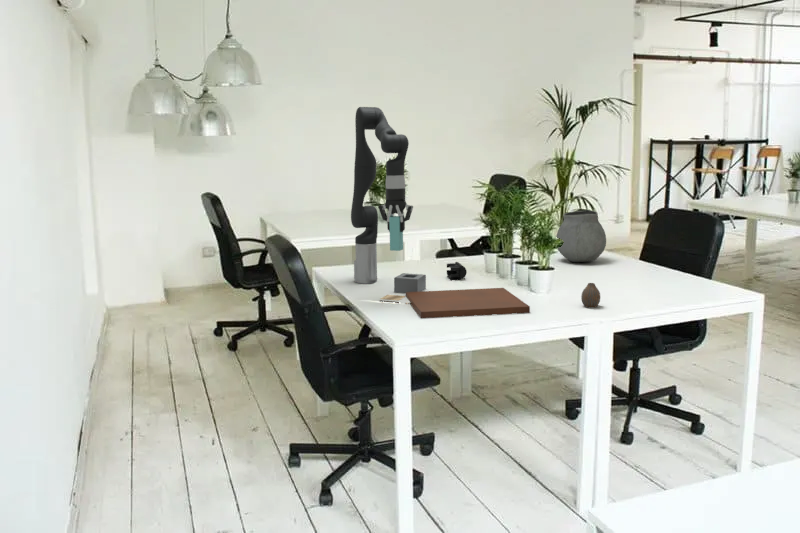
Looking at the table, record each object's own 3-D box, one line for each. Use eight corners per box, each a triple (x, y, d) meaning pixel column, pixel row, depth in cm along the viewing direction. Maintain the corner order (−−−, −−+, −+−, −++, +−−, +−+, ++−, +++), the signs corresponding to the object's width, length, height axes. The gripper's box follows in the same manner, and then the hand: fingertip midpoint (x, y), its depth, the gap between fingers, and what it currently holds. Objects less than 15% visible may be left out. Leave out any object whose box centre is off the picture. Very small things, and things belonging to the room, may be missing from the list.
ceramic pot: (552, 257, 387) (554, 208, 382) (601, 257, 384) (603, 209, 380) (557, 266, 363) (559, 214, 358) (609, 266, 361) (611, 214, 356)
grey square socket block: (394, 294, 304) (394, 277, 303) (403, 289, 314) (403, 273, 312) (417, 296, 301) (417, 279, 300) (425, 291, 310) (425, 274, 309)
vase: (588, 303, 286) (589, 280, 285) (603, 306, 281) (604, 283, 279) (577, 306, 282) (578, 283, 281) (592, 309, 277) (593, 286, 275)
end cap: (466, 280, 332) (466, 265, 330) (450, 281, 331) (450, 265, 330) (461, 276, 341) (461, 261, 340) (446, 276, 341) (446, 261, 339)
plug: (390, 250, 292) (389, 217, 290) (393, 248, 296) (392, 216, 294) (399, 250, 291) (399, 217, 289) (403, 249, 294) (402, 216, 292)
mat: (379, 301, 293) (379, 298, 293) (387, 297, 300) (387, 294, 300) (398, 302, 290) (398, 300, 290) (406, 298, 297) (406, 296, 297)
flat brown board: (529, 314, 273) (503, 295, 305) (529, 306, 272) (503, 287, 304) (421, 320, 267) (405, 299, 299) (420, 311, 266) (405, 292, 298)
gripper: (374, 187, 288) (375, 232, 291) (409, 187, 283) (410, 233, 286) (381, 186, 295) (382, 230, 298) (416, 186, 290) (416, 230, 293)
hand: (396, 231), depth 292 cm, fingers closed on plug, 4 cm apart
